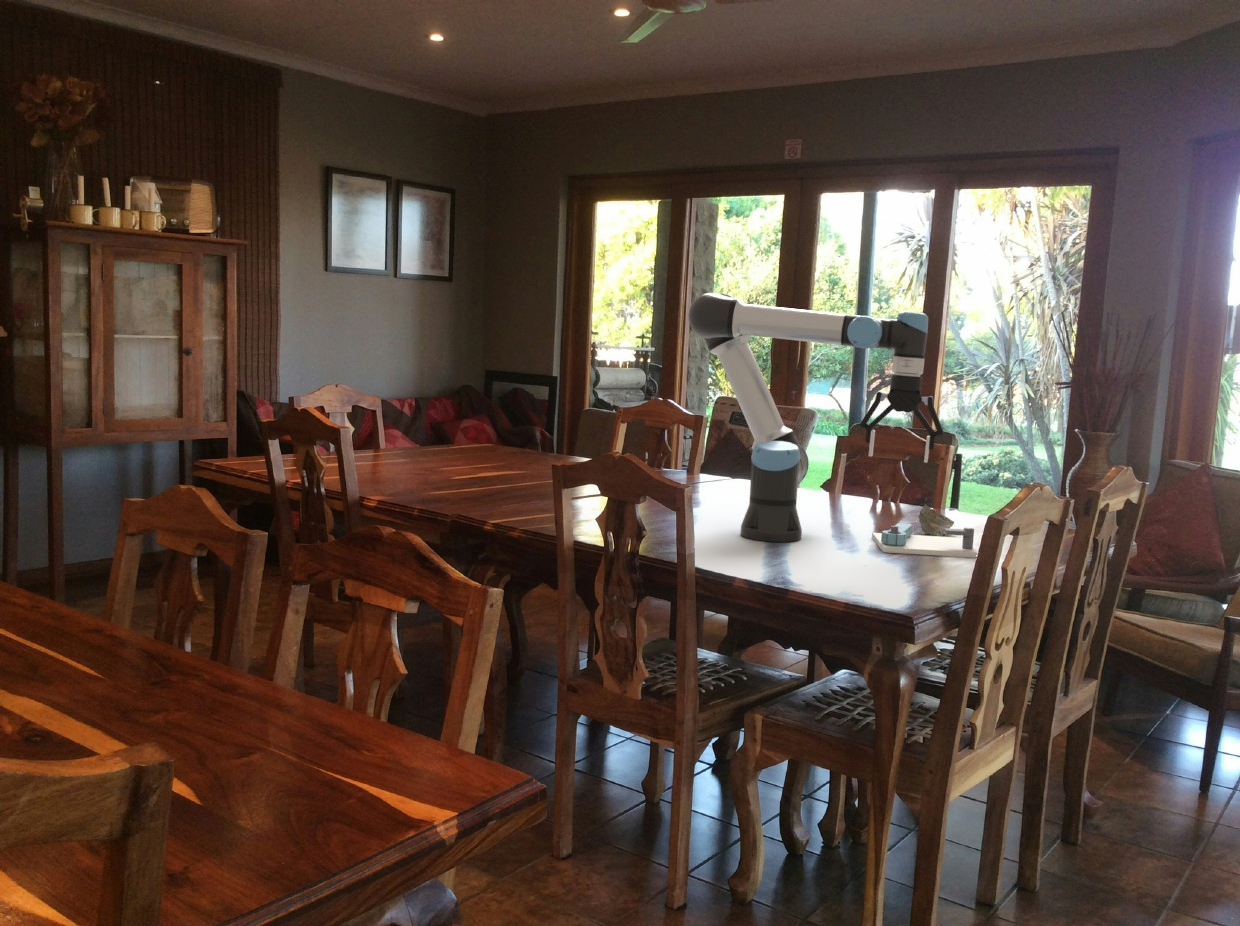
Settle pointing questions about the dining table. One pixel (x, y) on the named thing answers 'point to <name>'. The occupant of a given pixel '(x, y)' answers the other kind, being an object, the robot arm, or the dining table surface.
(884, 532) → the link
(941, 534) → the rock
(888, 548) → the board
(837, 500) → the dining table surface
